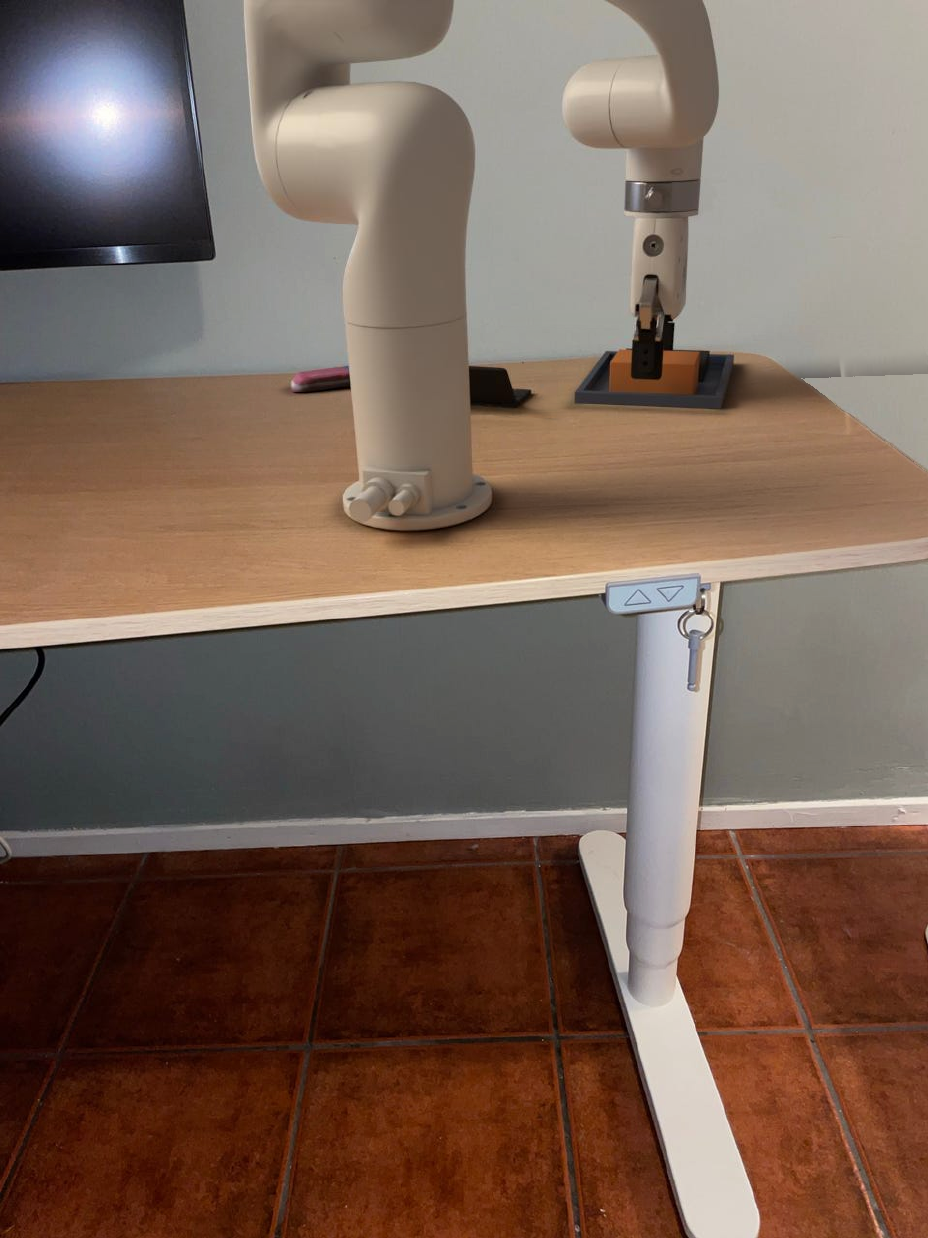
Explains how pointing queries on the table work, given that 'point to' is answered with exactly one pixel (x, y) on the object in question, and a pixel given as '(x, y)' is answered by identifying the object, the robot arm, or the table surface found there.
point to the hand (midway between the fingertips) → (652, 368)
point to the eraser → (321, 379)
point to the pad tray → (705, 396)
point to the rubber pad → (702, 363)
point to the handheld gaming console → (494, 388)
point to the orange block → (675, 374)
